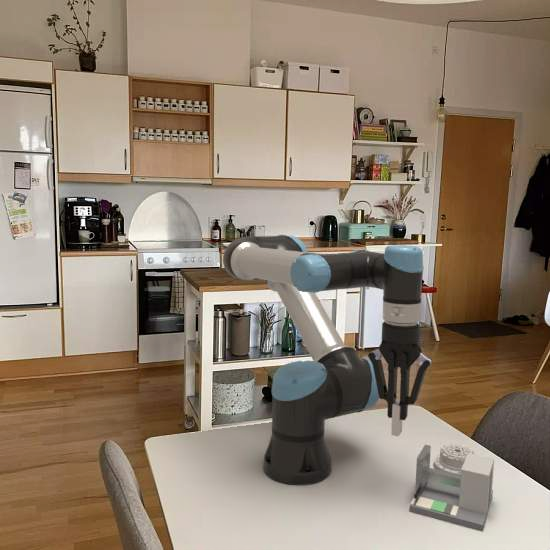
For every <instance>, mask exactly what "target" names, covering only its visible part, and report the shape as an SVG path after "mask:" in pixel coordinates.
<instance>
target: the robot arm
mask: <svg viewBox="0 0 550 550" xmlns="http://www.w3.org/2000/svg"><path fill="white" fill-rule="evenodd" d="M222 264H223V267H224V269H225V271H226V272H227V274H228V275H229V276H231V277H233V278H234V279H237V280H243V281H252V280H253V281H255V280H262V281H263V280H264V281H265V283H266V285H267V287H268V289H269V290H270V291H273V292H276V293H277V294H278V296H279V298H280V300H281V302H282V304H283V305H284V307H285V310H286V311H287V313H288V315H289V317H290V319H291V321H292V323H293V325H294V326H295V329H296V331H297V333H298V334H299V336H300V338H301V340H302V341H303V344H304V346H305V348H306V349H307V352H308V353H309V355H310V357H311V359H312V360H304V361H302V360H297V361H291V362H288V363H285V364H284V365H282V366H280V367H278V368H277V370H275V372H274V374H273V377H272V386H271V395H272V396H271V397H272V399H271V400H272V401H271V403H272V405H271V408H272V409H271V411H272V413H271V436H270V438H269V442H268V444H267V446H266V447H267V448H266V450H265V453H264V456H263V472H264V473H265V474H266V475H267V476H268V477H269V478H271V479H272V480H275V481H277V482H279V483H283V484H288V485H296V486H299V485H300V486H301V485H303V486H304V485H312V484H315V483H319V482H322V481H324V480H325V479H326V478H328V477H329V476H330V474H331V473H332V457H331V453H330V450H329V448H328V447H329V446H328V444H327V440H326V438H325V424H326V420H328V419H334V418H337V417H342V416H346V415H351V414H355V413H357V414H358V413H361V412H364V411H366V410H368V409H369V410H370V409H372V408H373V407H374V406H375V405H377V403H378V402H379V401H380V400H384V401H386V402H387V412H386V413H387V415H386V416H387V417H388V418H390V419H391V433H390V434H391V436H394V437H399V436H400V435H401V433H402V432H403V421H406V420H407V418H408V411H409V410H408V409H409V405H414V404H415V403H416V402H417V400H418V399H419V394H420V392H421V388H422V385H423V382H424V380H425V376H426V373H427V370H428V368H429V367H430V366H431V364H432V363H433V359H432V358H431V357H427V356H426V355H424V354H423V353H422V352H423V351H422V349H421V346H420V340H421V339H420V337H421V325H420V324H419V322H420V321H421V318H422V317H421V316H422V315H421V314H422V290H423V289H422V286H423V276H424V275H423V274H424V269H425V268H424V253H423V249H422V248H421V247H419V246H417V245H406V244H404V245H403V244H395V245H394V244H391V245H387V246H386V247H385V249H384V253H382V252H376V251H369V250H366V249H361V250H360V249H357V250H356V249H355V250H351V251H350V252H340V253H315V252H308V250H307V247H306V246H305V244H304V242H303V241H302V240H301V239H300V238H299V237H296V236H294V235H287V234H278V235H260V236H258V235H255V236H252V235H251V236H250V235H249V236H248V235H247V236H241V237H239V238H237V239H234V240H233V241H232V242H230V243H229V244H228V245H227V246H226V247H225V250H224V251H223V254H222ZM359 288H375V289H378V290H383V292H382V293H383V295H382V320H384V321H383V322H382V323H381V342H380V345H379V347H378V348H377V349H375V350H374V349H373V350H372V351H370V352H369V353H368V354H367V356H368V358H365V357H362V358H361V357H360V355H359V354H358V353H357V351H356V349H355V347H354V346H350V345H347V344H345V342H344V341H343V339H342V337H341V335H340V334H339V332H338V329H336V327H335V325H334V323H333V322H332V319H331V318H330V316H329V315H328V313H327V311H326V310H325V308H324V306H323V304H322V302H321V301H320V299H319V297H318V295H317V294H316V293H319V292H325V291H327V292H329V291H335V290H349V289H359ZM382 357H383V359H384V360H385V363H386V364H387V372H388V375H387V376H388V377H387V381H386V377H385V371H384V367H383V362H382ZM417 359H418V366H419V368H418V369H417V373H416V375H415V379H414V381H413V385H412V388H411V391H410V380H411V379H410V378H411V375H410V374H411V373H410V372H411V368H412V365H413V364H414V363H416V361H417ZM398 369H400V383H399V384H400V385H399V386H400V387H399V400H397V399H398V396H397V393H398V392H397V391H398V390H397V389H398Z"/></svg>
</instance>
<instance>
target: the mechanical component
mask: <svg viewBox="0 0 550 550" xmlns="http://www.w3.org/2000/svg"><path fill="white" fill-rule="evenodd" d="M468 453H472V454H476V452H475V451H474V450H471V449H470V447H467V446H463V445H462V444H456V443H455V444H453V443H451V444H449V445H448V444H447V445H446V444H444V445H443V446H442V447H440V450H439V454H438V455H437V456H435V457H434V460H433V466H434V467H433V468H434V469H437V470H441V471H445V472H450V473H454V474H458V475H461V469H462V466H463V464H464V462H465V459H466V457H467V454H468Z"/></svg>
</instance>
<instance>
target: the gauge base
mask: <svg viewBox="0 0 550 550" xmlns="http://www.w3.org/2000/svg"><path fill="white" fill-rule="evenodd" d="M494 466H495V458H494V457H491V456H489V457H488V456H484V455H480V454H476V453H475V454H472V453H468V454H467V457H466V459H465V462H464V464H463V466H462V469H461V481H460V488H458V487H454V486H450V485H446V484H442V483H438V482H434V481H430V480H427V482H426V484H425V486H424V488H423V490H422V492H421V493H420V495H419V497H418V499H415V498H414V497H413V498H412V500H411V502H410V504H409V512H412V513H415V514H418V515H421V516H426V517H428V518H433V519H435V520H436V519H437V520H439V521H443V522H447V523H451V524H456V525H458V526H461V527H465V528H470V529H473V530H477V531H481V532H483V531H484V528H485V524H486V520H487V517H488V513H489V509H490V506H491V502H492V499H493V494H494V492H493V491H494V490H493V481H494Z"/></svg>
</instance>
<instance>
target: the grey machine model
mask: <svg viewBox="0 0 550 550" xmlns="http://www.w3.org/2000/svg"><path fill="white" fill-rule="evenodd" d="M431 451H432V446H431V445H429V444H424V446H423V448H421V450H420V452H419V454H418V455H417V457H416V466H415V469H416V470H415V485H414V486H415V487H414V488H415V489H414V491H415V493H414V496H413V498H415V499H418V497H419V495H420V493H421V492H422V490H423V488H424V486H425V484H426V482H427V480H430V481H434V482H438V483H442V484H446V485H450V486H454V487H458V488H460V481H461V475H458V474H454V473H450V472H445V471H441V470H437V469H435V468H432V467H430V465H431Z"/></svg>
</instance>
